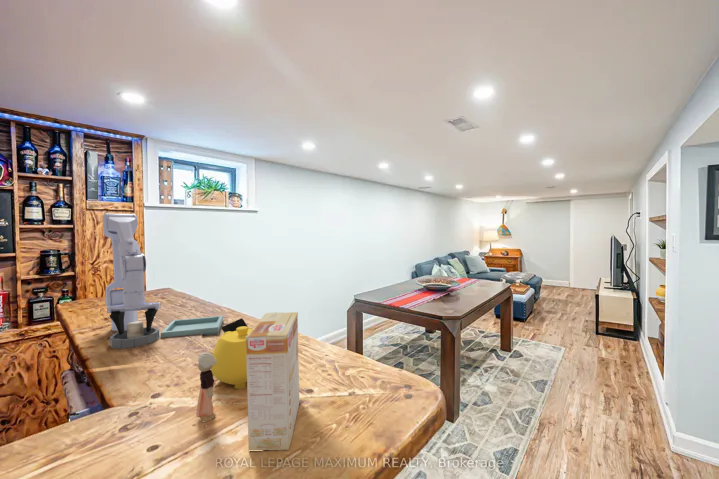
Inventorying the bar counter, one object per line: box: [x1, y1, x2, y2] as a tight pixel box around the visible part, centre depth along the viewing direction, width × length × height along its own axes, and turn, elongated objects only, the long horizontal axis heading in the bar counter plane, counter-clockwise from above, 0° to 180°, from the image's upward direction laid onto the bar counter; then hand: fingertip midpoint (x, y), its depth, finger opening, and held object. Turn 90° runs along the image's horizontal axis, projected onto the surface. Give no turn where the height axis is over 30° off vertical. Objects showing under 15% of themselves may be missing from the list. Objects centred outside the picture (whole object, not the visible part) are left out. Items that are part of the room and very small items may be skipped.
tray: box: [160, 315, 224, 339], centre depth 116 cm, size 16×18×2 cm
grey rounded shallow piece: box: [109, 326, 160, 350], centre depth 103 cm, size 13×13×4 cm
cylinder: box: [127, 320, 144, 339], centre depth 103 cm, size 4×4×6 cm
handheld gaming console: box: [221, 318, 249, 334], centre depth 107 cm, size 12×7×10 cm
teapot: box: [210, 326, 253, 390], centre depth 77 cm, size 14×20×13 cm
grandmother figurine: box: [195, 352, 217, 422], centre depth 61 cm, size 8×4×13 cm, turn 45°
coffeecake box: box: [245, 311, 300, 451], centre depth 58 cm, size 15×7×20 cm, turn 4°
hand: (135, 332), depth 103 cm, fingers open, 7 cm apart
